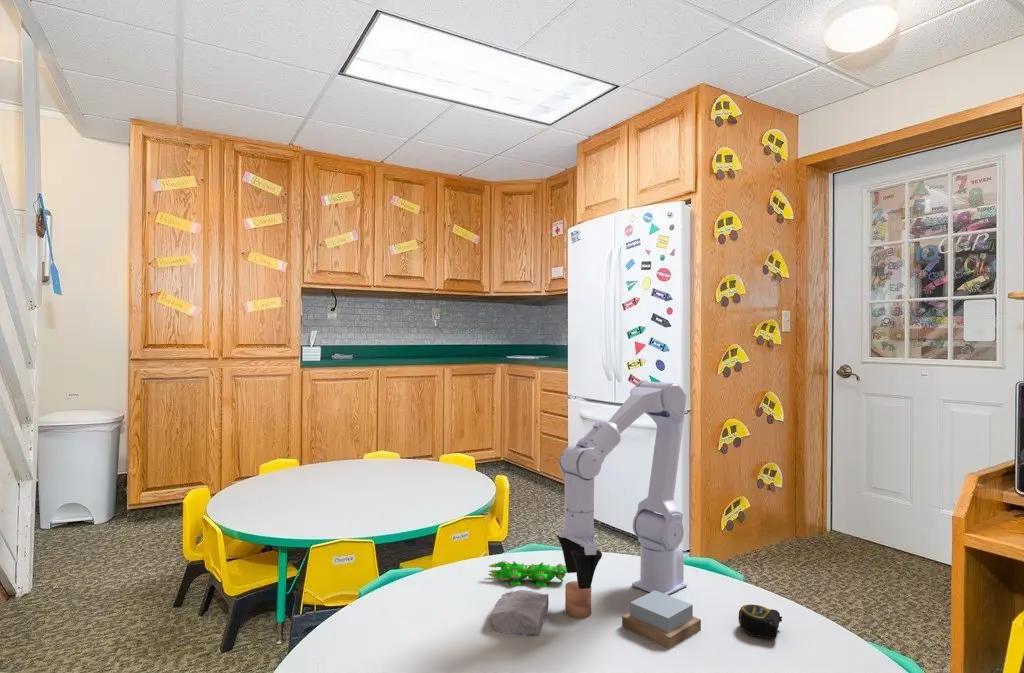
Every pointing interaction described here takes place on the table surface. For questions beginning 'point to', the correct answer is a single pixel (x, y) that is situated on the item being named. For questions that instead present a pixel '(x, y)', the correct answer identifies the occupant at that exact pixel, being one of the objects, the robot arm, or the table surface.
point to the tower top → (661, 611)
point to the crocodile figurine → (528, 572)
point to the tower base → (660, 635)
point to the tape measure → (759, 620)
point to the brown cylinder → (577, 601)
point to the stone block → (520, 612)
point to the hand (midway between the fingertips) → (578, 579)
